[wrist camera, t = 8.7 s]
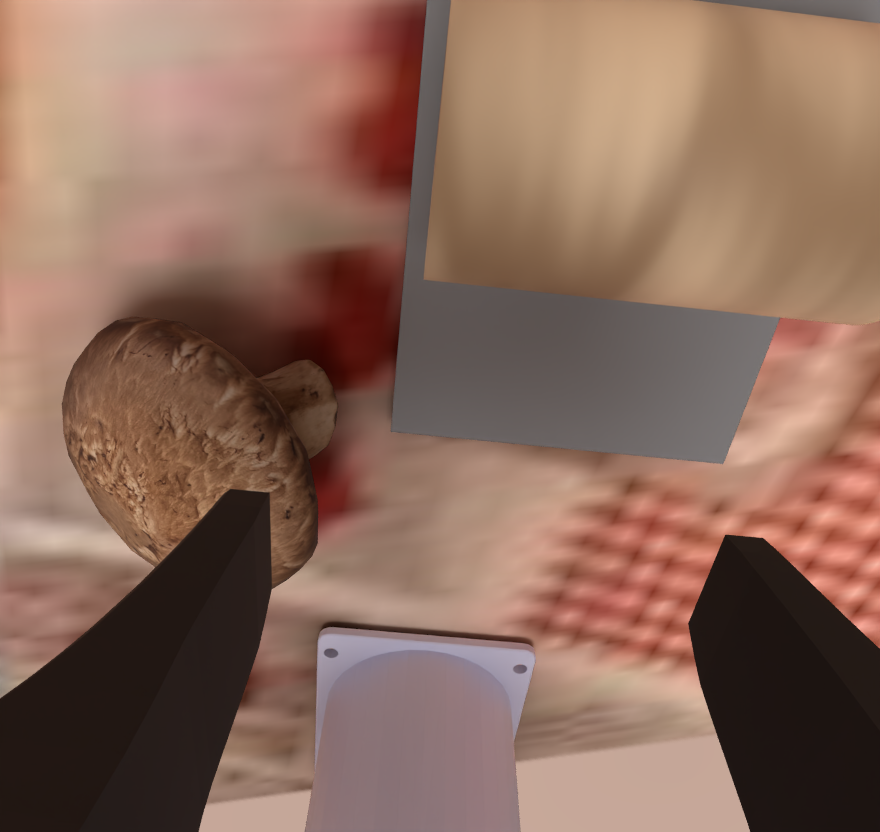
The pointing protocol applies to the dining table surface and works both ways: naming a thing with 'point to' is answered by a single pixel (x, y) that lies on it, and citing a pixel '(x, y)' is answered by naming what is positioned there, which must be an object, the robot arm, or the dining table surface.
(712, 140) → the roller
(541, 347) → the grey board
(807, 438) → the dining table surface
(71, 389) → the mushroom
